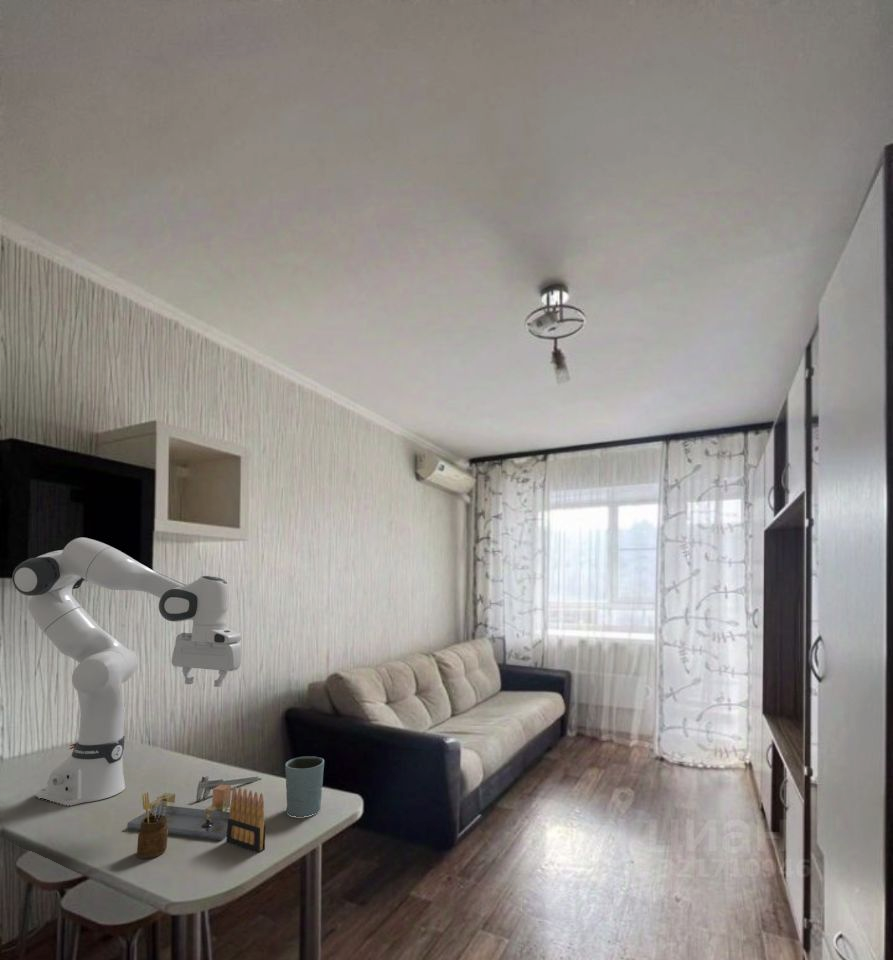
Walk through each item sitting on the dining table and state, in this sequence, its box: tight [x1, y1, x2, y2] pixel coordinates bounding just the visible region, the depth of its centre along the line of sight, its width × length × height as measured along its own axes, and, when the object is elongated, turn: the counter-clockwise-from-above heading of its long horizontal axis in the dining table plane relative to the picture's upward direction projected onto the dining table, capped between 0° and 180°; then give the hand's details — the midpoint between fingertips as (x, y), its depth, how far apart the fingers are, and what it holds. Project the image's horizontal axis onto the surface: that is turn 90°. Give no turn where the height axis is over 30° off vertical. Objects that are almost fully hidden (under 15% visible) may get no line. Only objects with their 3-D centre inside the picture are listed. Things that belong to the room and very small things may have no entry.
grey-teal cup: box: [284, 755, 325, 817], centre depth 146 cm, size 10×10×12 cm
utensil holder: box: [136, 791, 169, 860], centre depth 125 cm, size 6×6×12 cm
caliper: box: [196, 775, 262, 802], centre depth 159 cm, size 20×1×6 cm, turn 145°
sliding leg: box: [205, 784, 232, 824], centre depth 137 cm, size 3×7×6 cm, turn 167°
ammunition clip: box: [225, 785, 266, 854], centre depth 128 cm, size 11×2×12 cm, turn 61°
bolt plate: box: [126, 792, 230, 841], centre depth 137 cm, size 26×10×5 cm, turn 77°
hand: (203, 685), depth 155 cm, fingers open, 8 cm apart
